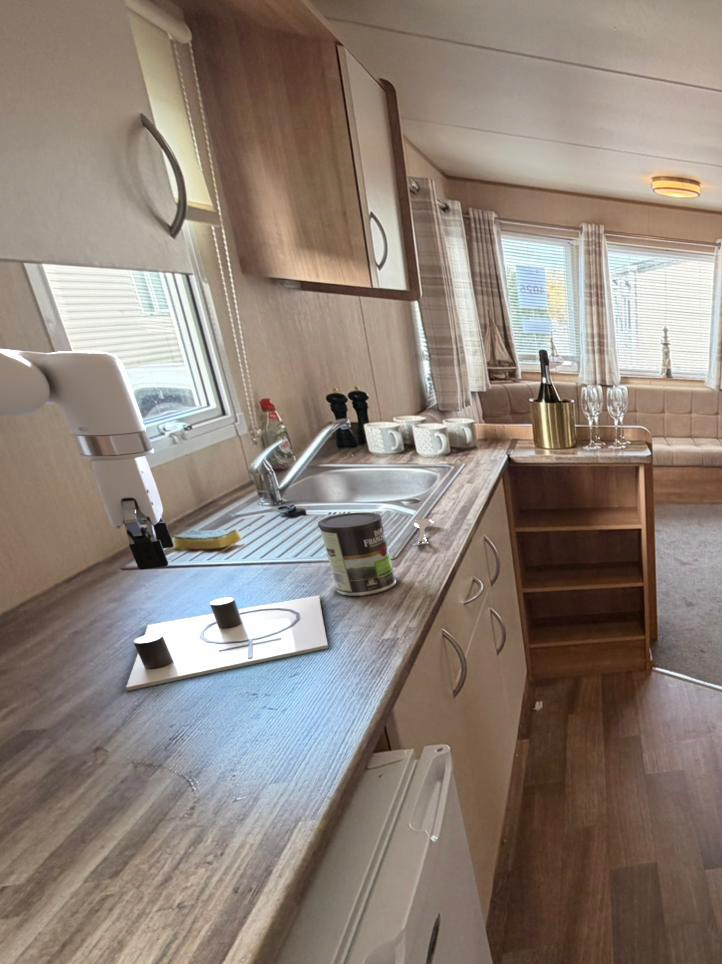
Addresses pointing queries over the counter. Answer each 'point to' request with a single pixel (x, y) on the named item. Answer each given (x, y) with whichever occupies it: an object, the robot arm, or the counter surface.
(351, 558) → the coffee can
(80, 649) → the counter surface
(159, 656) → the dot
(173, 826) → the counter surface
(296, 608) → the board
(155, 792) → the counter surface
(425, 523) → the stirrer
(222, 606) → the dot
